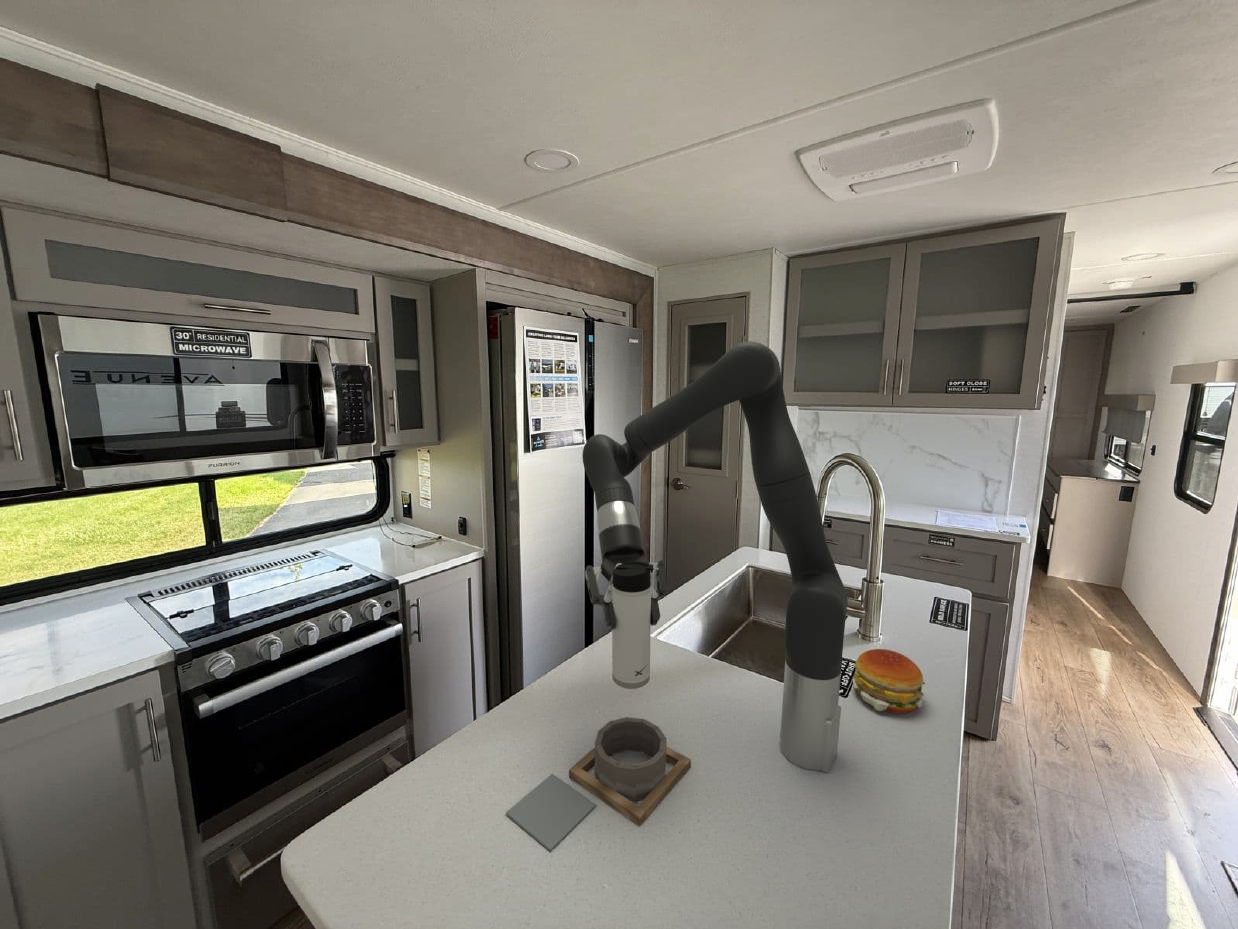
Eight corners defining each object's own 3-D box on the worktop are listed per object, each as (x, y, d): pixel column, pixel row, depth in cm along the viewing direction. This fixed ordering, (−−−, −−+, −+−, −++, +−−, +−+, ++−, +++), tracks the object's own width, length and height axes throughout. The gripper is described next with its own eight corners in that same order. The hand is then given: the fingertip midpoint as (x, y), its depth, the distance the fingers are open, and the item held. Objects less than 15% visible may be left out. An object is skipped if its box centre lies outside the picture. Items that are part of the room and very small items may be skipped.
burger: (928, 697, 108) (934, 654, 106) (913, 730, 98) (919, 683, 96) (862, 672, 117) (866, 632, 115) (841, 700, 107) (845, 657, 105)
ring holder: (690, 767, 88) (691, 736, 87) (639, 826, 77) (640, 791, 76) (623, 729, 98) (623, 701, 96) (568, 777, 86) (568, 746, 85)
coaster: (596, 806, 80) (596, 804, 80) (550, 852, 73) (550, 849, 72) (552, 775, 86) (552, 773, 86) (505, 814, 79) (505, 812, 79)
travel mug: (649, 692, 80) (650, 574, 77) (608, 687, 82) (608, 570, 78) (654, 670, 87) (655, 559, 83) (616, 665, 88) (616, 556, 84)
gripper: (581, 524, 85) (591, 623, 76) (662, 520, 88) (682, 614, 79) (577, 544, 92) (587, 637, 82) (654, 539, 94) (671, 629, 85)
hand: (633, 625), depth 81 cm, fingers closed on travel mug, 6 cm apart
